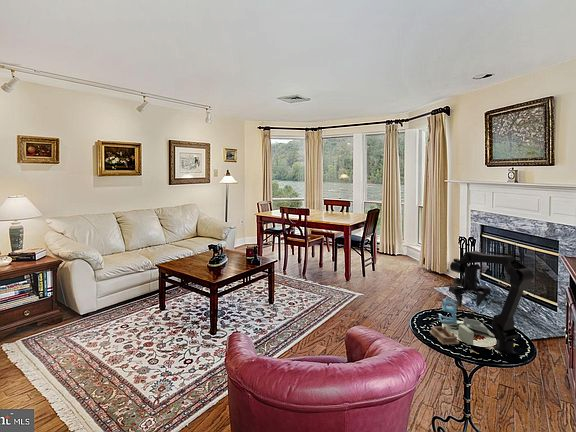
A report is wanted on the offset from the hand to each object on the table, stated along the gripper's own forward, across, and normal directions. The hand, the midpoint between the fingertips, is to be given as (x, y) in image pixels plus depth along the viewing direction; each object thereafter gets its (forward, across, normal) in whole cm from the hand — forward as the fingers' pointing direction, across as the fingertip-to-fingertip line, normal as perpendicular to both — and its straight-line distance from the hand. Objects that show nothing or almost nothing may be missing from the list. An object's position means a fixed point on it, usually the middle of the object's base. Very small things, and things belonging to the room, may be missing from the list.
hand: (468, 306), depth 172 cm
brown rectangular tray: (+13, +15, +6) cm, 21 cm away
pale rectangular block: (+13, +6, +9) cm, 17 cm away
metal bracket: (+14, -6, -2) cm, 15 cm away
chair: (+13, +3, -13) cm, 18 cm away
